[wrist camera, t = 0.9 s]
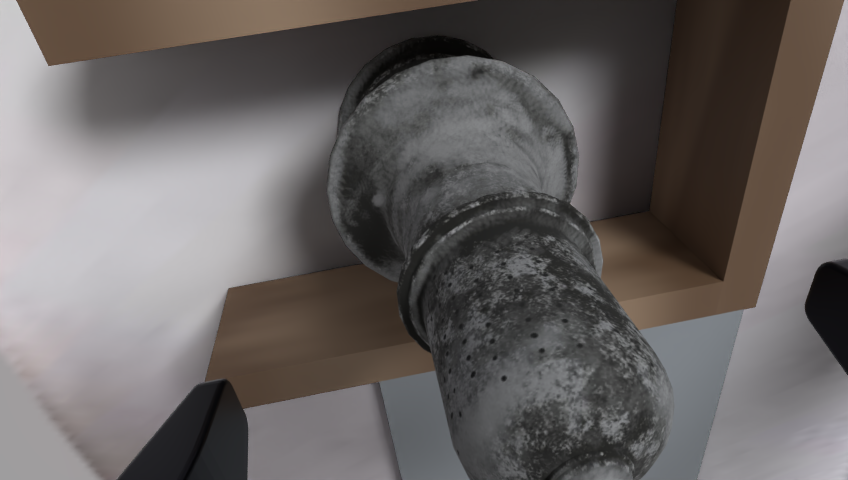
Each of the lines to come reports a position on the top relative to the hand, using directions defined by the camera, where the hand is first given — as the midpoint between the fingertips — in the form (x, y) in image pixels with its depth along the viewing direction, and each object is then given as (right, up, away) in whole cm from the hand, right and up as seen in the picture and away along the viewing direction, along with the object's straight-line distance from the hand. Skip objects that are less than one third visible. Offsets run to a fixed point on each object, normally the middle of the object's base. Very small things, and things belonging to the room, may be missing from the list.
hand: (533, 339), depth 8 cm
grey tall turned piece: (-2, +5, +7) cm, 9 cm away
